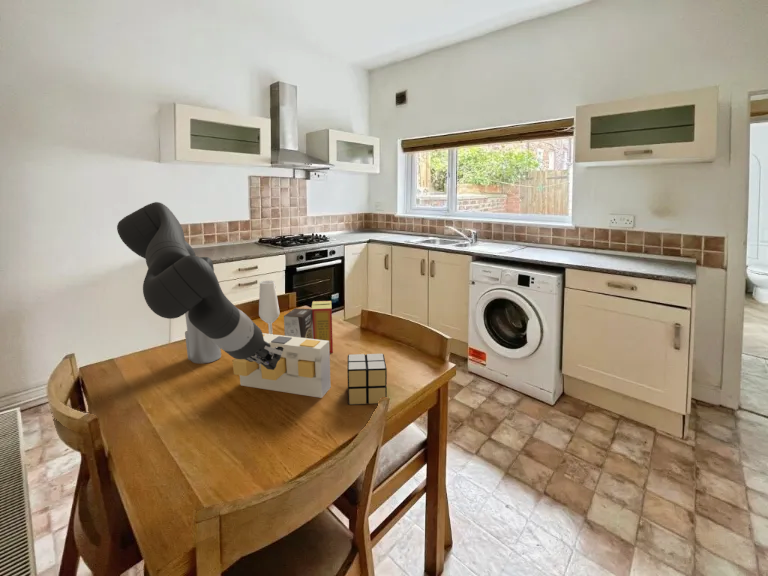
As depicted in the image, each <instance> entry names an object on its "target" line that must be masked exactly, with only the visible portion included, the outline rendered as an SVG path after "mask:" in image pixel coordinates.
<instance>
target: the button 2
mask: <svg viewBox="0 0 768 576" xmlns="http://www.w3.org/2000/svg"><path fill="white" fill-rule="evenodd" d="M286 371H287V368H286V358H284V357H281V358H280V360H279V361H278V362H277V365H276V368H275V369H274V370H271V369H267V368H266V367H264V366H263V365H262V364H261V373H262V379H269V380H275V381H276V380H277V379H278V378H279V377H280V376H281V375H283V374H284V373H285V372H286Z"/></svg>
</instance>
